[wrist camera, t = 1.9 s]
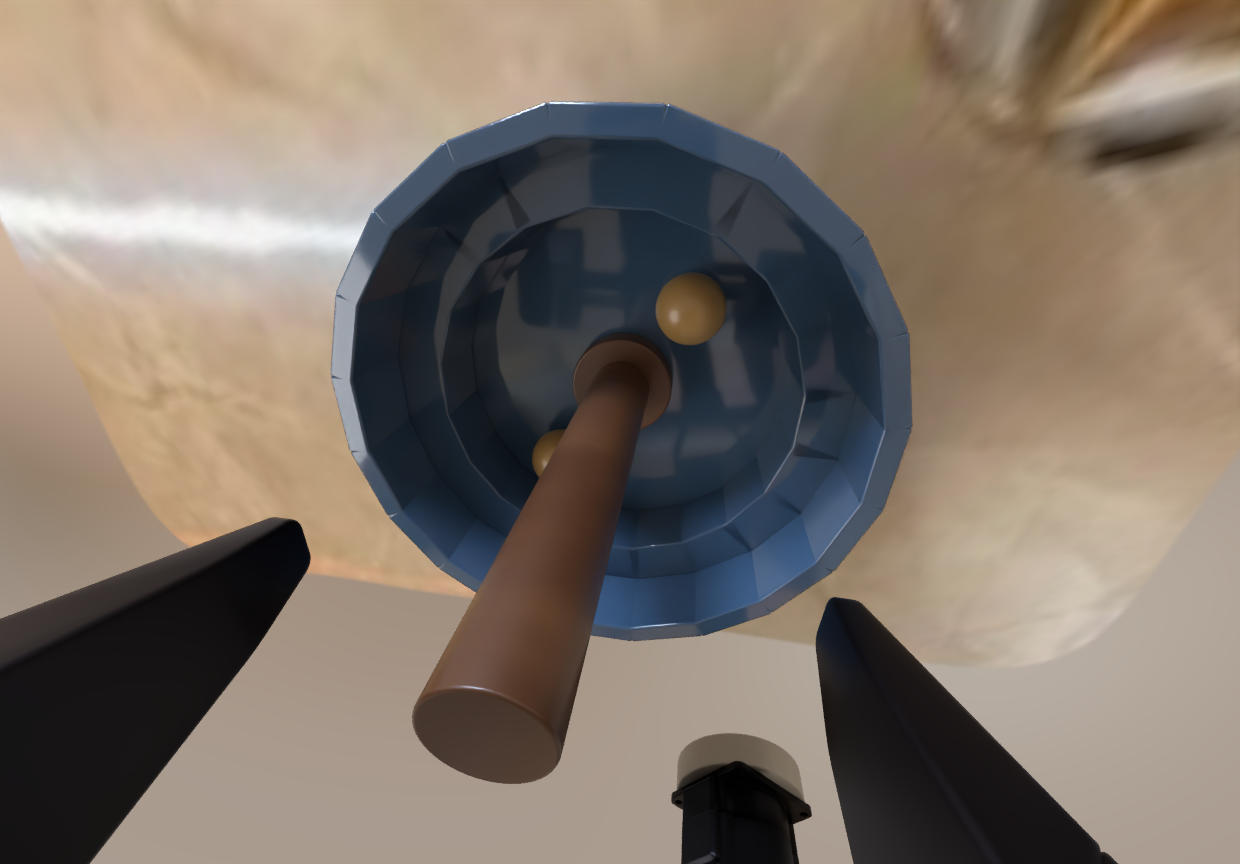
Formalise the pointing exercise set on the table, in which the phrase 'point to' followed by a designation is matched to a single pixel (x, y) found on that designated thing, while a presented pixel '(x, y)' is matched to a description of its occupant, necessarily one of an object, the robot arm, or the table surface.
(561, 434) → the chickpea
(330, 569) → the table surface
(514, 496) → the bowl
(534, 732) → the pestle
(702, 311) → the chickpea
